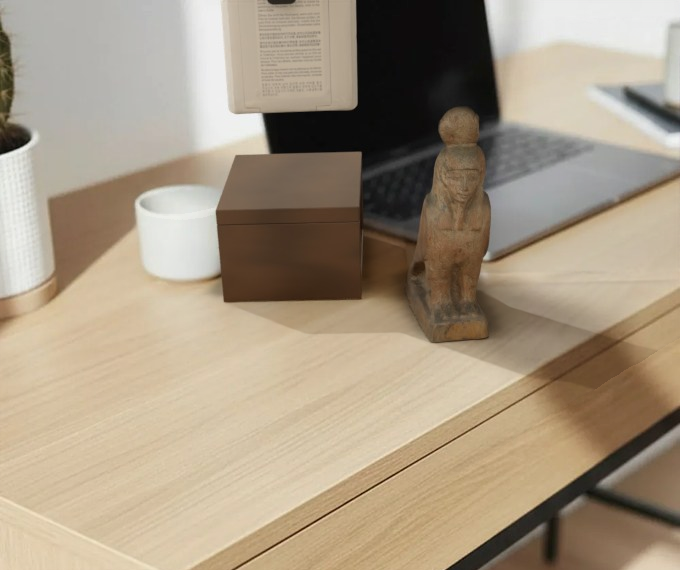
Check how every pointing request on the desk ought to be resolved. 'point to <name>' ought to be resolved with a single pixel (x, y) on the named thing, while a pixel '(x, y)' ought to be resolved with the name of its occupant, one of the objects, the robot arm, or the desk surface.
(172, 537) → the desk surface
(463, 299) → the worn brown figurine
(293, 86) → the photo printer
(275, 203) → the lidded wooden box
